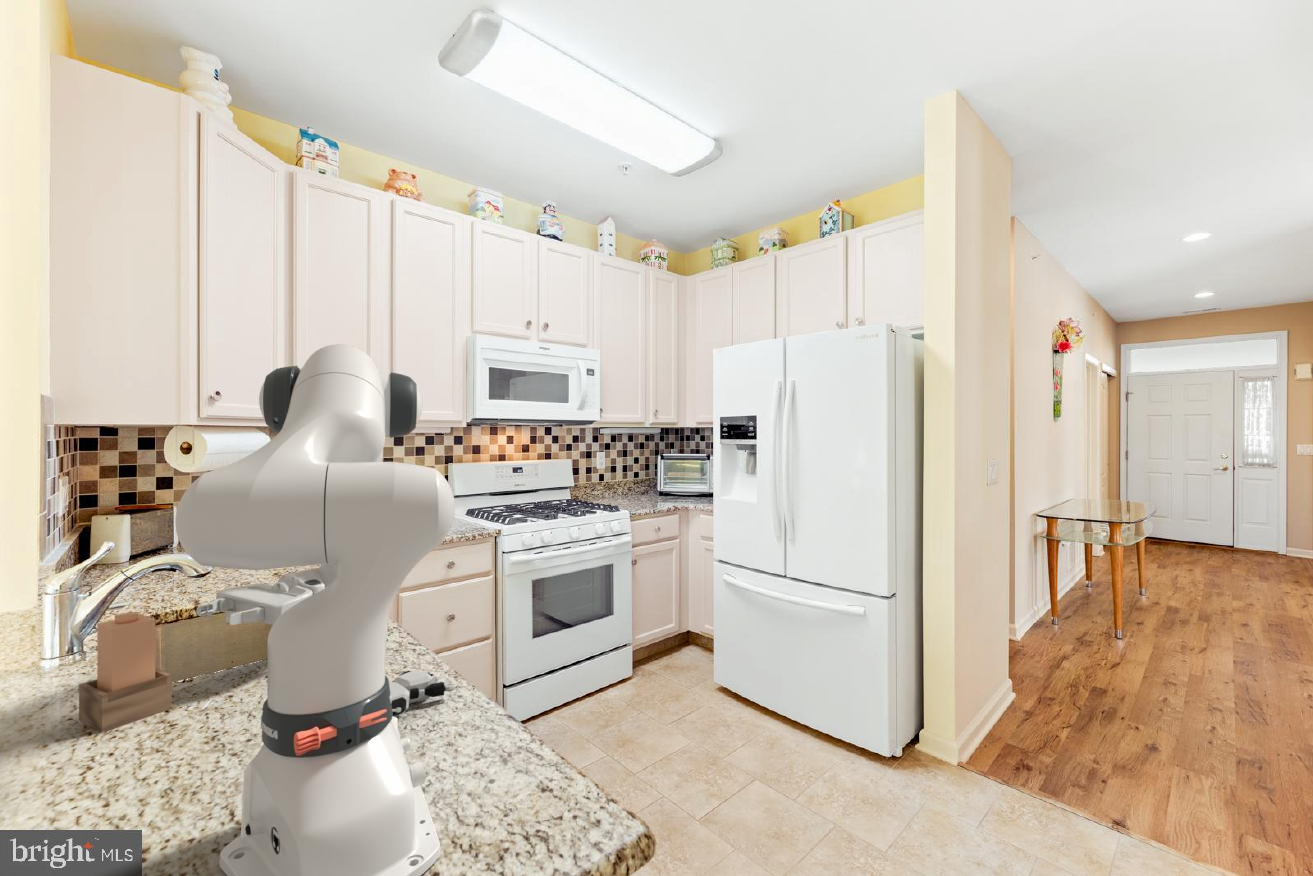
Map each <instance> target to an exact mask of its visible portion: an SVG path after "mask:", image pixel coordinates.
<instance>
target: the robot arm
mask: <svg viewBox="0 0 1313 876" xmlns="http://www.w3.org/2000/svg"><path fill="white" fill-rule="evenodd" d="M260 387H261V388H260V391H259V395H258V396H259V397H258V404H259V405H258V406H259V409H260V412H261V415H262V417H263V418H264V422H265V424H266V426H268V428H270V429H271V430H272V431H274V432H275V433H276V435H275V436H274V437H273V438H272V439H271V440H270V441H269V442H267V443H265V444H264V445H263V446H262V447H260V448H259V449H257V450H255V451H254V452H252V453H251V454H248V455H247V456H245V457H242V458H241V459H239V460H237V461H235V462H232V463H231V464H228V465H224V466H223V467H222V466H221V467H219V468H217V469H213V470H209V471H207V472H204V473H202V474H201V475H200V476H199V477H198V478H196V480H194V482H192V483H191V484H190V485H189V486H188V488H186V490H185V492H184V494H183V495H182V496H181V499H180V501H179V503H178V506H177V509H176V514H175V520H174V521H175V523H174V524H175V531H176V535H177V539H178V541H179V544H180V545H181V547H182V548H183V550H184V551H185V552H186V553H187V555H188V556H189V557H190V558H191V559H193V561H194V562H196V563H197V564H199V565H200V566H203V567H209V568H210V567H211V568H212V567H213V568H222V569H223V568H224V569H234V570H248V571H249V570H251V571H262V570H273V569H283V568H296V567H305V566H317V565H320V566H319V567H315V568H310V569H309V568H308V569H304V570H301V571H295V572H289V573H285V574H283V575H281V576H280V578H279V579H278V581H277V582H275V583H274V584H273V585H270V584H264V583H255V584H246V585H240V586H235V587H230V588H224V589H222V590H219V591H218V592H216V595H215V599H214V600H211V601H210V602H208V603H204V604H199V605H198V606H197V607H196V615H197V616H199V617H207V616H212V615H213V614H215V613H219V612H224V613H226V615H225V623H226V624H227V625H229V626H236V625H240V624H246V623H257V622H259V623H264V624H267V625H271V628H270V631H269V633H268V636H267V698H266V700H265V701H264V702H263V705H262V713H261V716H260V728H261V741H262V743H263V745H262V747H261V748H260V749H259V751H258V752H257V754H256V755H255V756H254V758H253V759H252V760H250V762H249V763H248V765H247V766H246V767H245V768H244V772H243V783H242V786H243V788H242V802H241V804H242V805H241V824H240V825H241V828H240V835H239V836H237V837H236V838H234V839H233V840H232V841H231V842H230V843H228V844H227V845H226V846H224V847H223V849H222V850H221V851H220V853H219V859H218V860H219V861H218V866H219V868H220V869H221V871H223V872H224V874H225V875H226V876H422V875H423V874H424V873H425V872H426V871H428V870H429V868H431V867H432V866H433V864H435V863H436V861H437V860H438V859H439V858H440V856H441V855H440V854H442V852H441V851H442V850H441V843H440V839H439V836H438V833H437V830H436V827H435V824H434V822H433V819H432V816H431V812H430V809H429V806H428V804H427V803H428V802H427V800H426V798H425V795H424V791H423V789H422V786H423V785H424V784H425V781H426V777H425V776H426V773H425V767H424V766H425V765H424V763H423V762H422V761H418V762H415V763H411V764H409V763H408V762H407V758H406V755H405V753H407V752H409V751H410V750H411V741H410V738H409V737H406V738H401V734H400V731H399V727H398V722H399V721H398V720H399V719H398V718H397V717H394V716H393V712H392V704H391V703H392V695H391V690H390V687H389V681H390V680H389V677H387V676H386V655H387V653H386V652H387V651H386V650H387V640H388V639H387V638H388V626H389V619H390V613H391V609H392V607H393V603H394V601H395V597H396V596H397V593H398V591H399V590H400V587H401V586H402V584H403V583H404V581H405V580H406V579H407V576H408V575H409V574H410V573H411V572H412V570H413V568H415V566H417V565H418V563H419V562H420V561H421V560H422V559H424V557H426V556H427V555H428V554H429V553H431V552H432V551H433V550H435V549H436V548H437V547H438V546H439V545H440V544H441V543H443V541H444V540H445V538H446V537H447V535H448V534H449V532H450V530H451V528H452V525H453V523H454V519H455V514H456V502H455V497H454V493H453V490H452V488H451V485H450V483H449V482H448V480H447V479H446V478H445V476H444V474H442V473H441V472H440V471H439V470H438V469H437V468H434V467H430V466H424V465H419V464H411V463H405V462H400V461H399V462H398V461H383V457H384V447H385V443H386V437H389V438H390V439H391V438H392V439H393V438H398V437H404V436H407V435H409V434H411V433H412V432H413V431H414V430H415V429H416V427H417V424H418V423H419V421H420V418H421V415H422V410H423V409H422V408H423V402H422V396H421V393H420V391H419V388H418V387H417V383H416V382H415V381H414V380H413V378H411V377H410V376H407V375H405V374H402V373H398V372H397V373H396V372H393V371H392V372H390V373H386V372H380V371H379V369H378V367H377V364H376V363H375V362H374V360H373V359H372V357H371V356H370V355H369V354H367V353H366V352H365V351H363V350H362V349H360V348H358V347H355V346H352V345H348V344H337V343H336V344H330V345H325V346H323V347H321V348H319V349H317V350H315V351H314V352H312V354H311V355H310V356H309V357H308V359H307V360H306V361H305V363H304V364H303V366H302V367H299V366H298V365H292V366H291V365H290V366H284V367H277V368H276V369H274V370H272V371H271V372H269V373H267V375H266V376H265V379H264V382H263V384H262V385H261V386H260Z"/></svg>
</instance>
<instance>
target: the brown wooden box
mask: <svg viewBox="0 0 1313 876" xmlns="http://www.w3.org/2000/svg"><path fill="white" fill-rule="evenodd" d="M172 676H173V675H172V674H171V673H169V672H166V671H164V670H162V669H159V668H157V667H155V678H154V679H151V680H148V681H144V682H141V683H138V684H135V685H131V686H128V687H125V688H121V689H118V690H115V691H111V692H108V693H105V692H103V691H100V690H98V689H97V678H96V679H93V680H89V681H85V682H83V683H80V684H78V720H79V721H81V722H83V723H84V724H87V725H88V726H90V727H92V728H93V729H95V730H97V731H99V732H100V733H104V732H107V731H110V730H113V729H116V728H119V727H122V726H124V725H127V724H131V723H134V722H137V721H140V720H142V719H144V718H145V719H146V718H149V717H150V716H153V715H157V714H159V713H163V712H165V711H168V710H171V709H173V707H172V705H173V704H172V699H173V698H172V697H173V696H172V692H173V691H172V688H173V687H172V684H173V683H172V682H173V680H172V679H173V678H172Z"/></svg>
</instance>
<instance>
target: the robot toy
mask: <svg viewBox="0 0 1313 876" xmlns="http://www.w3.org/2000/svg"><path fill="white" fill-rule="evenodd" d="M437 681H438V680H437V674H436V673H434V674H433V673H430V671H422V670H406V671H404V672H401V673H400V674H399V676H396V678H395V679H394V680H392V681H391V680H389V687H390V690H391V695H392V703H391V704H392V712H393V716H394V717H395V718H397V717H399V716H401V715H404V713H405V712H406V711H407V710H408V709H409V708H410V706H409V705H410V704H413V703H420V701H421V702H424V701H426V700H427V699H428V697H431V698H436V697H441V696H442V697H443V696H445V692H453V691H454V690H455V689H456V686H455V685H454V684H453V683H446V684H445V683H444V681H442V682H441V681H440V682H437ZM423 700H424V701H423Z"/></svg>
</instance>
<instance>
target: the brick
mask: <svg viewBox="0 0 1313 876" xmlns="http://www.w3.org/2000/svg"><path fill="white" fill-rule="evenodd" d="M96 632H97V642H96V643H97V644H96V645H97V649H96V650H97V652H96V653H97V654H96V656H97V657H96V659H97V660H96V661H97V663H96V665H97V668H96V669H97V673H96V674H97V676H96V677H97V678H96V679H97V689H98V690H100V691H103V692H105V693H108V692H111V691H115V690H118V689H121V688H125V687H128V686H131V685H135V684H138V683H141V682H144V681H148V680H151V679H154V678H155V668H156V618H154V617H150V616H147V615H144V614H140V613H139V612H138V611H130V612H129V611H128V612H124V613H119V614H116V615H114V619H111V620H107V621H103V622H98V623H97V631H96Z"/></svg>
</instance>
